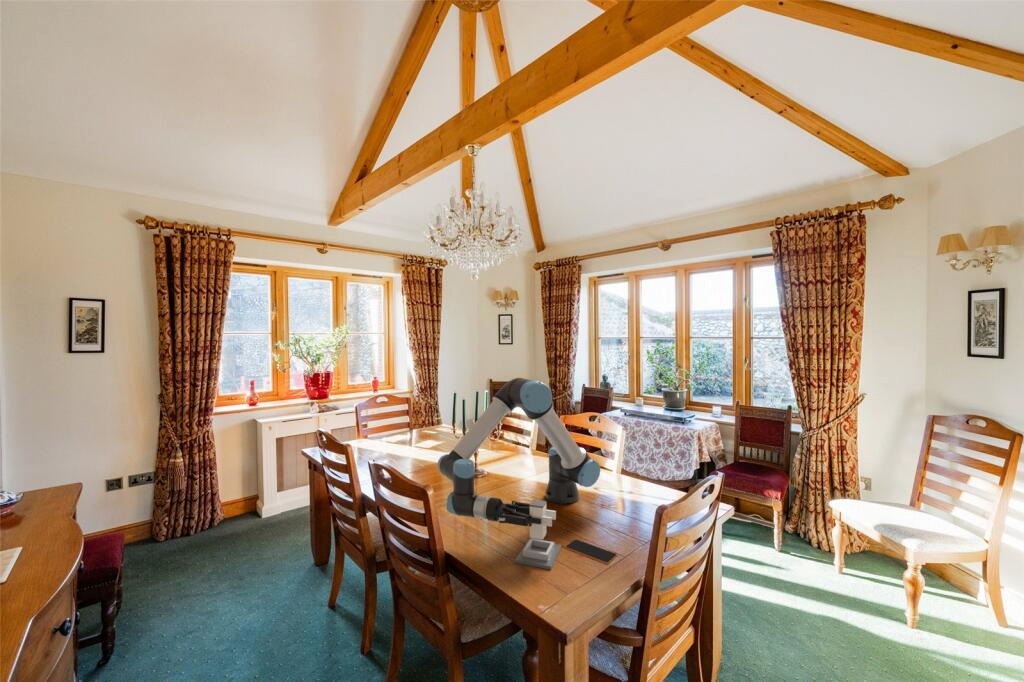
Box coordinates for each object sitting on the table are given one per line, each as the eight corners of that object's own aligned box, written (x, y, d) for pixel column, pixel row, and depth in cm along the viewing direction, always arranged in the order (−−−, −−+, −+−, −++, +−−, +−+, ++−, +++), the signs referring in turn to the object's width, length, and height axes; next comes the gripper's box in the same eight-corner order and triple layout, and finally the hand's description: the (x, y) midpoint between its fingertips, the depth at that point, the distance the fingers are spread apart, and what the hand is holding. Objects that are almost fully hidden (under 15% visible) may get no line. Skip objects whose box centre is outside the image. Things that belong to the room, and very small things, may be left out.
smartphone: (575, 540, 150) (575, 538, 150) (618, 556, 140) (618, 554, 140) (563, 549, 144) (563, 546, 144) (607, 566, 134) (607, 563, 134)
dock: (528, 542, 149) (528, 533, 149) (561, 547, 145) (561, 539, 144) (515, 562, 136) (515, 553, 136) (550, 569, 131) (550, 560, 131)
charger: (533, 531, 143) (533, 499, 142) (546, 533, 141) (546, 501, 141) (529, 537, 138) (529, 504, 138) (542, 539, 137) (542, 506, 137)
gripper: (498, 509, 154) (560, 518, 146) (478, 530, 138) (546, 542, 130) (498, 489, 154) (560, 497, 146) (478, 507, 138) (546, 518, 129)
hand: (553, 518), depth 138 cm, fingers closed on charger, 4 cm apart
